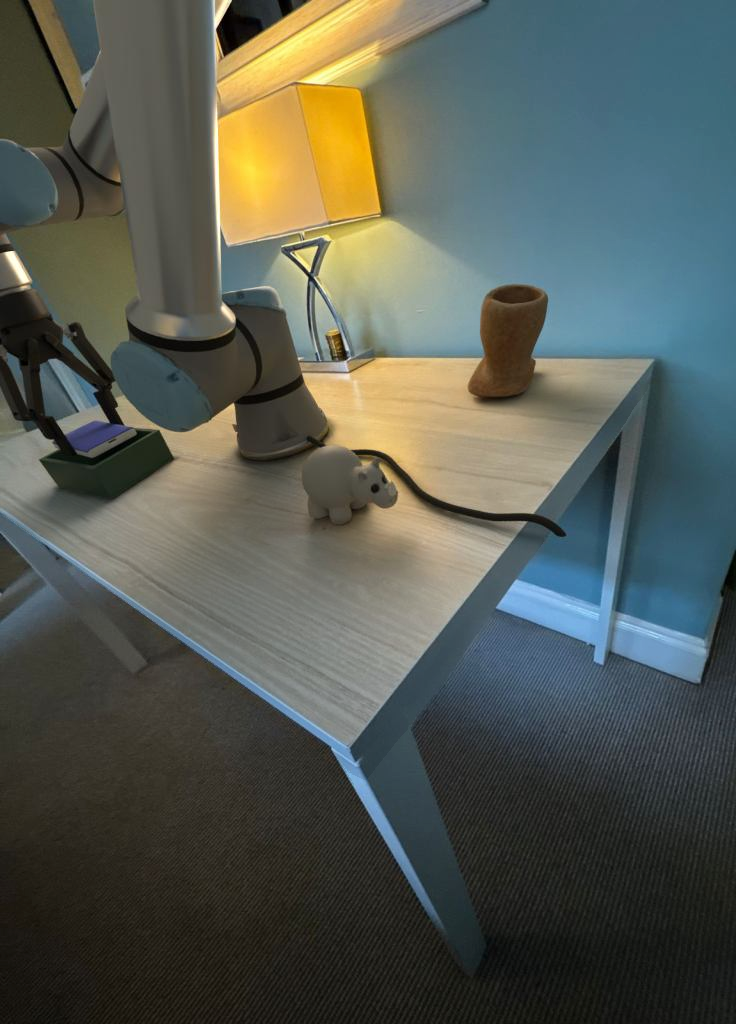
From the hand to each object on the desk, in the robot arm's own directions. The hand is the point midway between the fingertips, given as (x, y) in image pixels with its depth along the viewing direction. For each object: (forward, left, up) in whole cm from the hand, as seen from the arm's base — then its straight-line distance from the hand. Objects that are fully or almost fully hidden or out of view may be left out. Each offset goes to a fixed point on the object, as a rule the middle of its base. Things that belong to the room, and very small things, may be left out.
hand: (96, 440), depth 73 cm
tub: (0, 0, -6) cm, 6 cm away
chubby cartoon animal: (-50, 0, -7) cm, 50 cm away
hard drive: (0, 0, 0) cm, 0 cm away
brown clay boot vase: (-57, -39, -7) cm, 69 cm away
